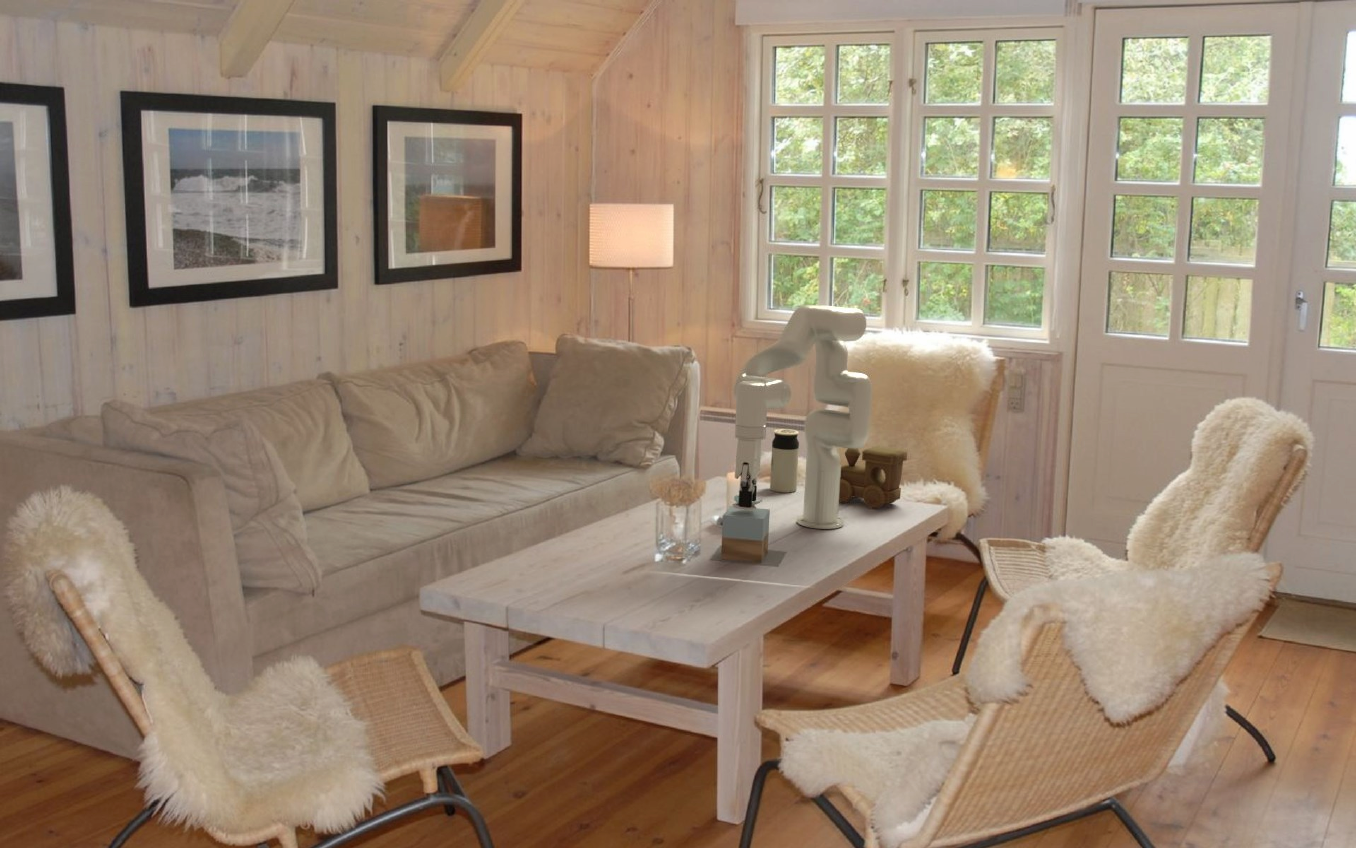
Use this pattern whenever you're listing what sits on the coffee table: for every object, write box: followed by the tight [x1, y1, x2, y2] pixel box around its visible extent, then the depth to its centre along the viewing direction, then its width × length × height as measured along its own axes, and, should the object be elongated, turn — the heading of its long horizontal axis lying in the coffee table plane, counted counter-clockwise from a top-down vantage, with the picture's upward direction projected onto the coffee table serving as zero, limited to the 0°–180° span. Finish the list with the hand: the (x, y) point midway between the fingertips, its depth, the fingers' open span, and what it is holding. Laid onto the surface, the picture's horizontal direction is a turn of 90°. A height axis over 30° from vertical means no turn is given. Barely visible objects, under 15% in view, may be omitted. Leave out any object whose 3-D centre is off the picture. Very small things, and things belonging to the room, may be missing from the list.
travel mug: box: [769, 428, 800, 494], centre depth 421 cm, size 8×8×18 cm
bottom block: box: [721, 530, 770, 563], centre depth 347 cm, size 10×10×6 cm
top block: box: [721, 505, 771, 541], centre depth 346 cm, size 10×10×6 cm
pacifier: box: [731, 482, 763, 510], centre depth 345 cm, size 7×6×6 cm
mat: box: [709, 544, 787, 568], centre depth 348 cm, size 14×17×1 cm
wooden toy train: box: [839, 446, 908, 510], centre depth 408 cm, size 20×11×17 cm, turn 55°
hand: (747, 503), depth 346 cm, fingers closed on pacifier, 5 cm apart
